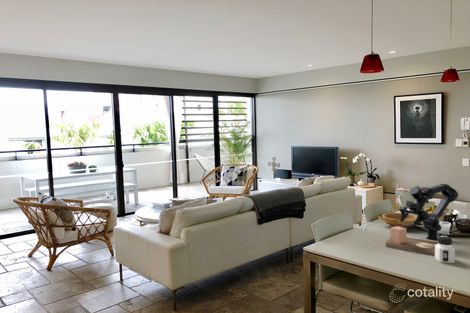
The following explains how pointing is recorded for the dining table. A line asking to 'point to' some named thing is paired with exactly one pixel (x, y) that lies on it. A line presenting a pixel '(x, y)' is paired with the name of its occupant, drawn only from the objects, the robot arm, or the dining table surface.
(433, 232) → the robot arm
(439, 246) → the container
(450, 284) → the dining table surface
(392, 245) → the walnut board
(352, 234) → the dining table surface
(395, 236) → the peach colored cube
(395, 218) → the wooden bowl
